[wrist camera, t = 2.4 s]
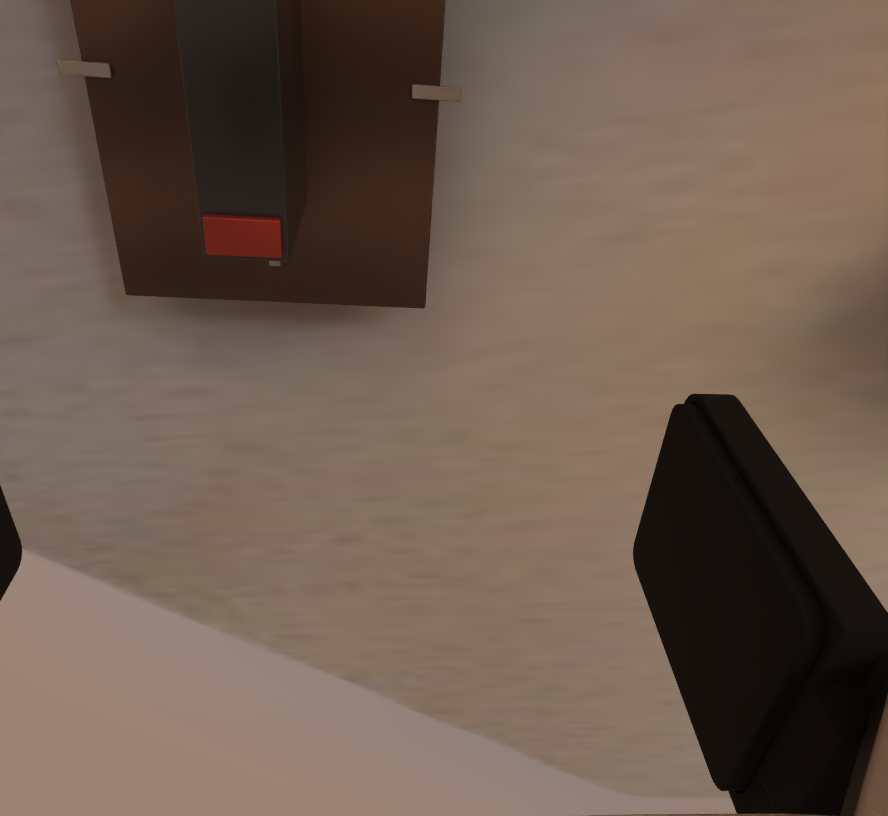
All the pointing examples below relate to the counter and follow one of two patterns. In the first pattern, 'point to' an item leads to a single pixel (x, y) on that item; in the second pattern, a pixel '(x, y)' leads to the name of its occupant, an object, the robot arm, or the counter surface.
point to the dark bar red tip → (245, 123)
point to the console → (326, 153)
